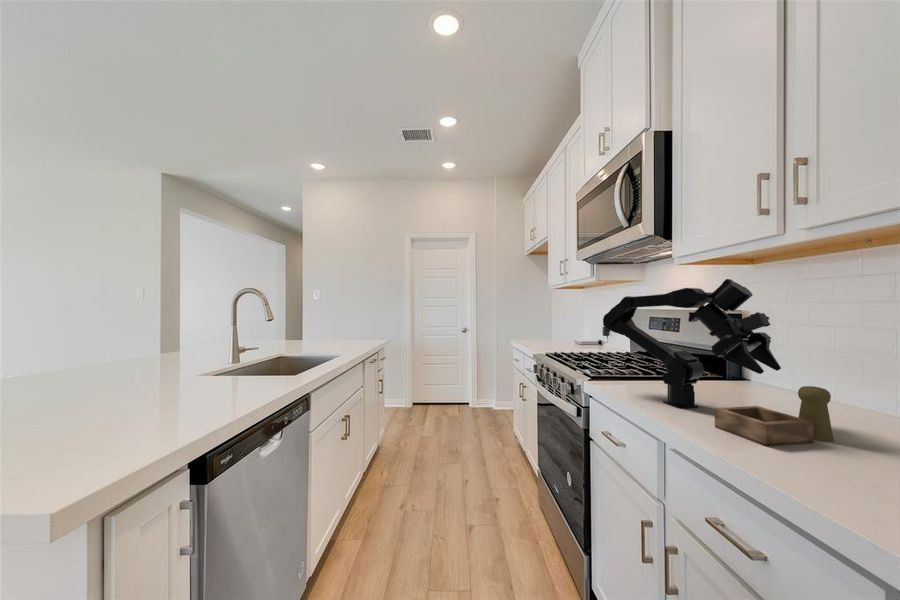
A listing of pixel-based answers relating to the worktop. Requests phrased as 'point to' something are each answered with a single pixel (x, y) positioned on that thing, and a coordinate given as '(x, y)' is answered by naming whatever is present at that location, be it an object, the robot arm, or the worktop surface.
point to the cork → (816, 411)
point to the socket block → (764, 425)
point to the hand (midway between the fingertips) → (770, 371)
